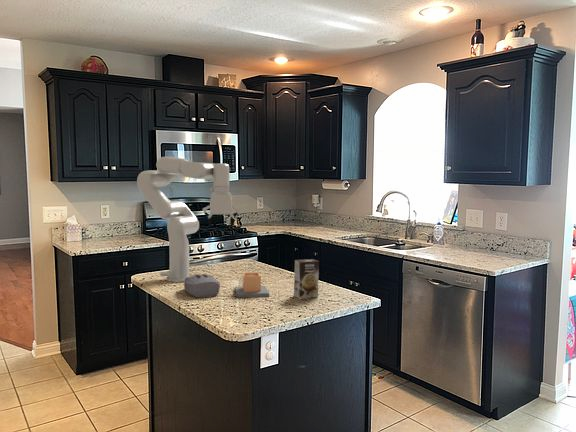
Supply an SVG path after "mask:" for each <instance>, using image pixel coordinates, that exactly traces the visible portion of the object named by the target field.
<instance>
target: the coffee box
mask: <svg viewBox="0 0 576 432" xmlns="http://www.w3.org/2000/svg"><path fill="white" fill-rule="evenodd" d="M319 264H320V261H319V260H316V259H313V258H311V259H310V258H308V259H295V260H294V279H293V283H294V284H293V287H294V288H293V296H294V297H295V298H298V299H299V300H302V299H303V300H305V299H312V298H311V297H316V298H319V277H320V276H319V274H320V272H319V271H320V265H319ZM304 298H305V299H304Z"/></svg>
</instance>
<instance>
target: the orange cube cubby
mask: <svg viewBox="0 0 576 432" xmlns="http://www.w3.org/2000/svg"><path fill="white" fill-rule="evenodd" d="M261 277H262V276H261V274H260V272H242V286H243V291H244V292H261V286H262V278H261Z"/></svg>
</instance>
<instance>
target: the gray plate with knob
mask: <svg viewBox="0 0 576 432" xmlns="http://www.w3.org/2000/svg"><path fill="white" fill-rule="evenodd" d="M234 292H235V295H236V298H261V297H263V298H265V297H266V298H267V297H268V298H269V297H270V291H269V289H268V288H267V286H266V285H261V292H244V291H243V285H241V286H237V285H236V286H234Z"/></svg>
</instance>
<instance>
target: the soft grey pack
mask: <svg viewBox="0 0 576 432" xmlns="http://www.w3.org/2000/svg"><path fill="white" fill-rule="evenodd" d="M183 283H184V284H183V287H184V290H185V291H186V292H187V294H188V295H189V296H192V297H194V298H199V299H203V298H211V297H216V296H217V295H218V294H219V291H220V287H221V286H220V285H221V283H220V281H219V280H217V279H216V278H215V276H213V275H210V274H206V273H198V274H193V275H190V276H189V277H187V278H186V279H185V281H184V282H183Z"/></svg>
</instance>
